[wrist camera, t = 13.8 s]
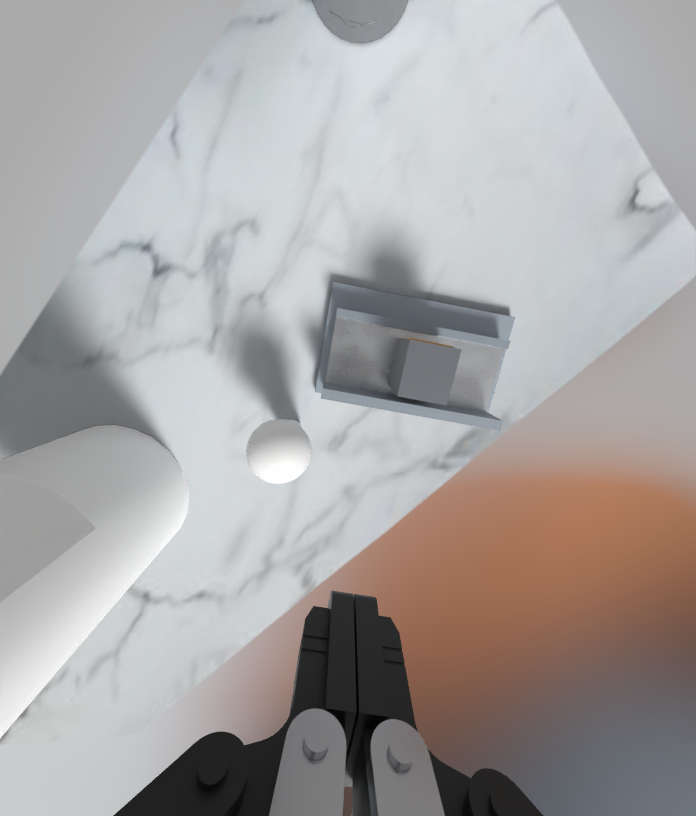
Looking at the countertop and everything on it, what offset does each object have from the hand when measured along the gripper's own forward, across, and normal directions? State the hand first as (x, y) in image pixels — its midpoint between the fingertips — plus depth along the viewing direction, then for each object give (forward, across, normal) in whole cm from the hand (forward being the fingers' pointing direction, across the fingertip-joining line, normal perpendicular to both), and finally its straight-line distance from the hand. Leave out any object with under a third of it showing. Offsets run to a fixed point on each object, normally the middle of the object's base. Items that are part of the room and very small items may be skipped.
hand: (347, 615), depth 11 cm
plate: (+28, -6, -7) cm, 29 cm away
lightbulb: (+29, +6, +3) cm, 30 cm away
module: (+26, -6, -7) cm, 28 cm away
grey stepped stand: (+29, -6, -8) cm, 31 cm away
